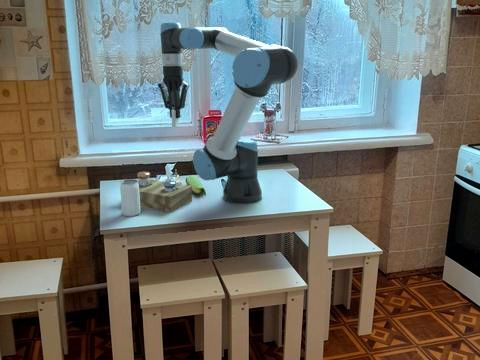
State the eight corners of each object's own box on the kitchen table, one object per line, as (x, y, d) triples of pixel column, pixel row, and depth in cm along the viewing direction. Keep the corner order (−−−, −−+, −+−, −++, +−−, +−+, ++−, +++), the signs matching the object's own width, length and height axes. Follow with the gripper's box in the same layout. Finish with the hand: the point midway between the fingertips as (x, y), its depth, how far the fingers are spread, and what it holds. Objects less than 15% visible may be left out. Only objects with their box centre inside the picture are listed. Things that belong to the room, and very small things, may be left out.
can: (139, 216, 179) (137, 183, 175) (121, 217, 178) (118, 184, 175) (141, 210, 185) (139, 178, 182) (123, 210, 185) (121, 179, 181)
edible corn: (196, 174, 215) (186, 172, 213) (209, 189, 197) (198, 187, 195) (193, 185, 216) (183, 183, 214) (205, 201, 198) (194, 199, 197)
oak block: (192, 201, 194) (191, 186, 193) (171, 212, 182) (170, 196, 181) (145, 192, 204) (145, 178, 202) (123, 203, 192) (121, 188, 190)
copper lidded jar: (153, 192, 196) (152, 172, 194) (145, 196, 192) (144, 175, 190) (143, 191, 198) (142, 170, 196) (136, 194, 194) (134, 173, 192)
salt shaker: (179, 202, 191) (178, 181, 189) (172, 206, 188) (171, 184, 185) (169, 200, 193) (168, 180, 191) (162, 204, 190) (161, 183, 187)
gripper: (152, 65, 192) (156, 127, 199) (182, 65, 188) (185, 129, 194) (162, 64, 199) (166, 124, 206) (192, 64, 194) (194, 125, 201)
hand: (175, 126), depth 200 cm, fingers closed
